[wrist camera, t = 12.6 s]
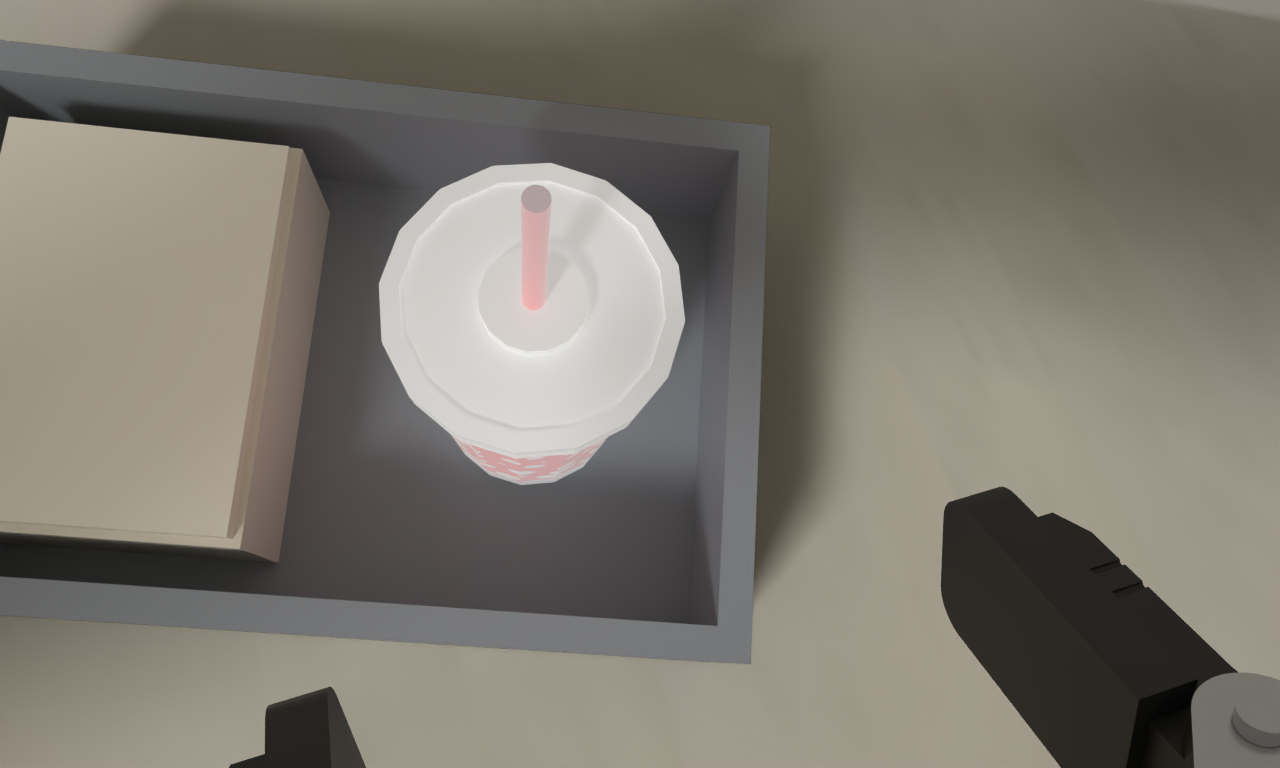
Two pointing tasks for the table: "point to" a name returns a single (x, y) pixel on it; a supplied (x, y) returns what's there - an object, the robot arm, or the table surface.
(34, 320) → the beige rectangular block
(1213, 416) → the table surface
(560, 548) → the tray
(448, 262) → the beverage cup
